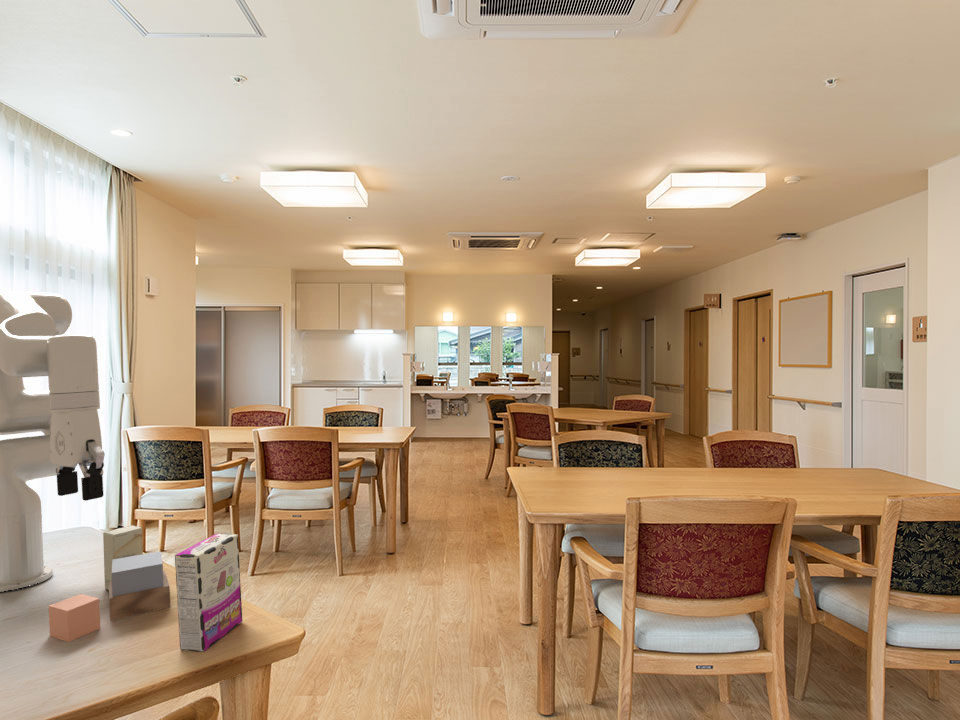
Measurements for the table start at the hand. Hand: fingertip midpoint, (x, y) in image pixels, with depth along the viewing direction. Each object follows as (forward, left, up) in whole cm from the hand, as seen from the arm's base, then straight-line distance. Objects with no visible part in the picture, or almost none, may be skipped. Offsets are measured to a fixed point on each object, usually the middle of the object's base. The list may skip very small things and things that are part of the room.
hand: (80, 496), depth 108 cm
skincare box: (-1, +19, -24) cm, 31 cm away
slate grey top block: (+6, +8, -20) cm, 22 cm away
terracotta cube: (-1, -2, -24) cm, 24 cm away
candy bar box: (+24, -9, -24) cm, 35 cm away
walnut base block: (+6, +8, -24) cm, 26 cm away
